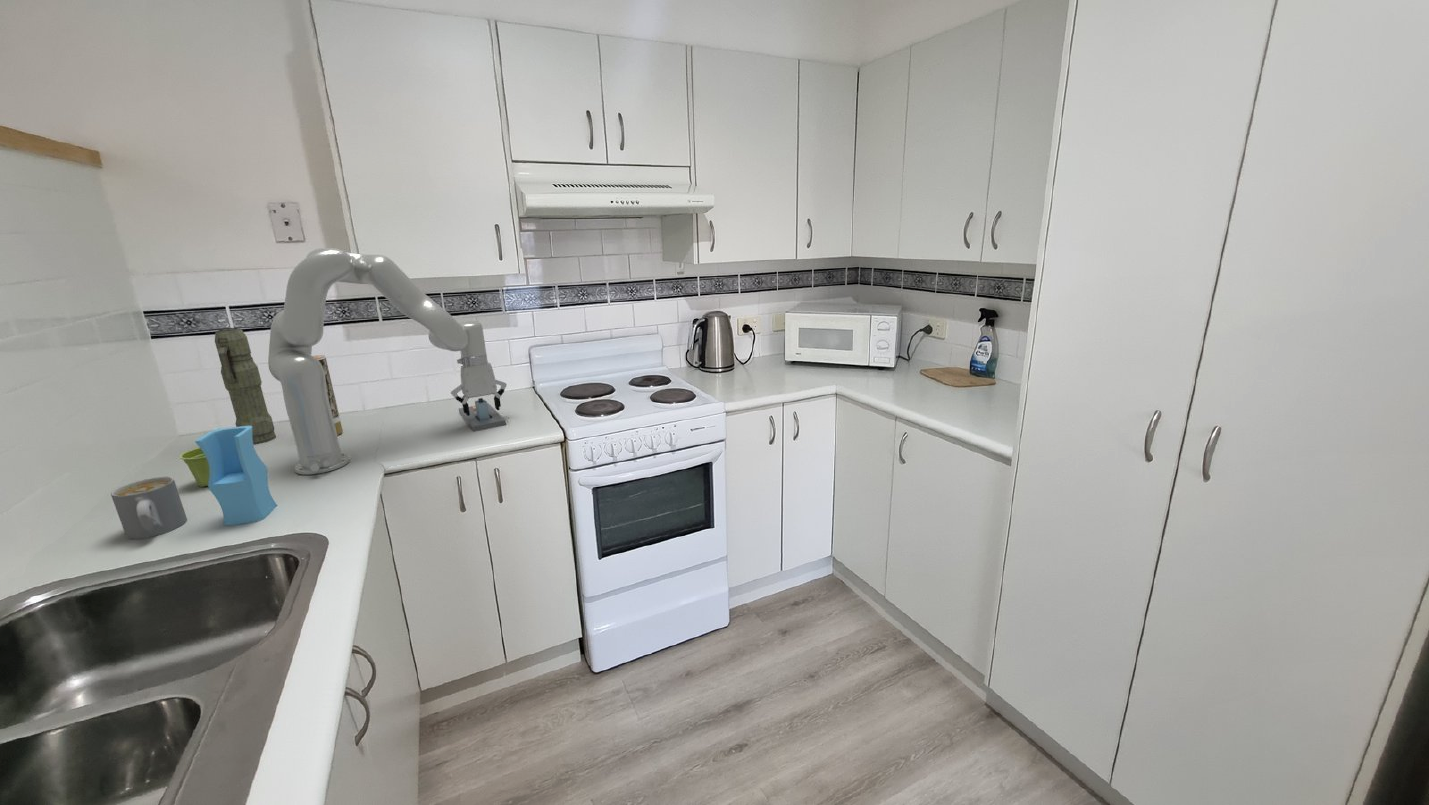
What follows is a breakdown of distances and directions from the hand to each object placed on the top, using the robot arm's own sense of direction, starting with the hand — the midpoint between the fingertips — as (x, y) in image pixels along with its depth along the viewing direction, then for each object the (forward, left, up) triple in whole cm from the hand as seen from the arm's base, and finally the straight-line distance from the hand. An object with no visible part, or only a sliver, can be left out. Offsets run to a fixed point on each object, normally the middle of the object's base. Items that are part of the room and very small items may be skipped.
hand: (482, 411), depth 191 cm
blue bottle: (0, 0, -3) cm, 3 cm away
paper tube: (+18, +43, -4) cm, 47 cm away
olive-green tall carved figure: (+27, +62, -4) cm, 68 cm away
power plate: (+4, 0, -3) cm, 5 cm away
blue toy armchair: (-37, +59, -4) cm, 70 cm away
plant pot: (-7, +69, -4) cm, 69 cm away
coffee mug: (-33, +76, -4) cm, 83 cm away
